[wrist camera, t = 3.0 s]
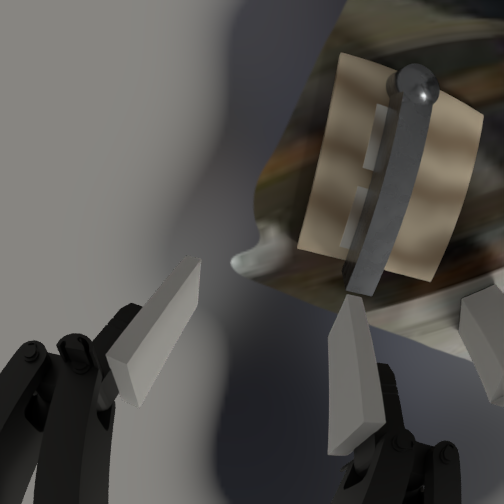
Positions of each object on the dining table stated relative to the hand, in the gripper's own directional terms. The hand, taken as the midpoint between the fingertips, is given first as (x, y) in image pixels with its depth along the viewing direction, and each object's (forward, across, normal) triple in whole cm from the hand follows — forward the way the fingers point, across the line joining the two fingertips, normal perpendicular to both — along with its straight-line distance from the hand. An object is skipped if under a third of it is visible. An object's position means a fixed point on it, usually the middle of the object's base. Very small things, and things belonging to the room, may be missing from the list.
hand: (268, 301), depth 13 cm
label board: (+19, +11, +6) cm, 23 cm away
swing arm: (+17, +9, +5) cm, 20 cm away
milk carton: (+19, +33, -8) cm, 39 cm away
